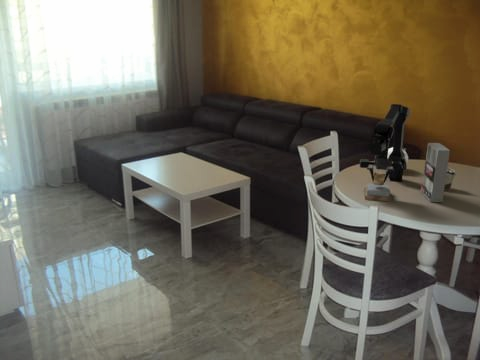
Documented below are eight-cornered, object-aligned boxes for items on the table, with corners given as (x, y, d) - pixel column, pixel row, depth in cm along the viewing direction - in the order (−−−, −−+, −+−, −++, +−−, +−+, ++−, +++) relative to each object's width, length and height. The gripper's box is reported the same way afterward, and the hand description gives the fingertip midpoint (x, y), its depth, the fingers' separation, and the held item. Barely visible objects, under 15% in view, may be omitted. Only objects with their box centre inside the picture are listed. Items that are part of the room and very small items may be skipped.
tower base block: (388, 194, 234) (389, 189, 233) (391, 202, 222) (391, 197, 222) (363, 192, 236) (364, 187, 235) (364, 200, 225) (365, 195, 224)
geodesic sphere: (413, 157, 272) (400, 138, 270) (416, 164, 259) (402, 144, 257) (391, 171, 277) (378, 151, 275) (392, 178, 264) (379, 158, 262)
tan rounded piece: (383, 182, 229) (384, 172, 227) (384, 185, 224) (385, 175, 223) (372, 181, 230) (373, 171, 228) (373, 185, 225) (374, 175, 224)
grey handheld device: (419, 192, 234) (426, 142, 226) (432, 192, 234) (439, 142, 226) (429, 202, 221) (436, 150, 213) (442, 202, 221) (450, 150, 213)
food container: (453, 187, 241) (456, 168, 238) (453, 190, 236) (456, 171, 233) (427, 183, 246) (430, 165, 243) (426, 187, 241) (429, 168, 238)
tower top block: (388, 189, 232) (388, 184, 231) (389, 196, 223) (389, 191, 222) (367, 188, 234) (367, 183, 233) (367, 195, 225) (367, 190, 224)
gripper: (361, 153, 216) (358, 185, 221) (404, 155, 212) (400, 188, 217) (361, 147, 226) (358, 178, 231) (402, 149, 223) (398, 181, 228)
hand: (378, 181), depth 227 cm, fingers closed on tan rounded piece, 5 cm apart
